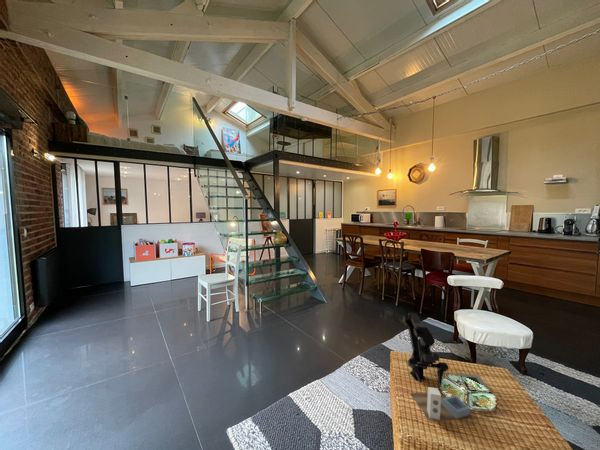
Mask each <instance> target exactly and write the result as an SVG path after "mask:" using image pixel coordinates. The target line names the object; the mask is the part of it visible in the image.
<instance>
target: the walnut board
mask: <svg viewBox="0 0 600 450" xmlns="http://www.w3.org/2000/svg"><path fill="white" fill-rule="evenodd" d="M442 391H443V390H439V392H440V394H441V407H440V420H437V419H432V418H429V415H428V412H427V397H428V391H425V392H424V391H423V392H412V393H409V395H410V396H411V397H412V399H413V400H414V402H415V403H416V404H417V406H418V407H419V409H420V410H421V412H422V413H423V415H424V416H425V417H426V419H427V420H428V421H429V423H438V422H449V421H457V420H467V419H468V420H469V419H473V418H474V416H472V415H471V414H470V415H468V416H464V417H461V418H458V419H456V418H455V417H454V416H453V415H452V414H451V413H450V412H449V411H448V410H447V409H446V408H445V407H444V406H443V398H447V397H446V396H445V395H444V394H443V393H442Z"/></svg>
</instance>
